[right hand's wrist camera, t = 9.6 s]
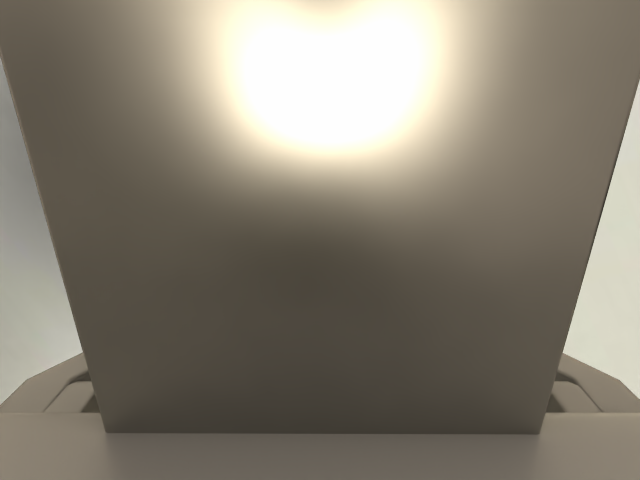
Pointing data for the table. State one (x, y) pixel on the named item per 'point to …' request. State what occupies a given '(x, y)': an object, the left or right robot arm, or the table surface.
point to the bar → (322, 201)
